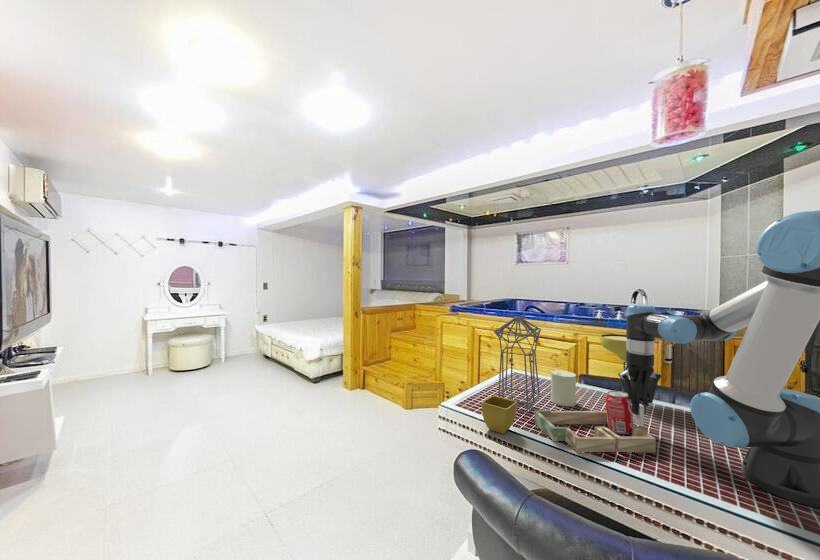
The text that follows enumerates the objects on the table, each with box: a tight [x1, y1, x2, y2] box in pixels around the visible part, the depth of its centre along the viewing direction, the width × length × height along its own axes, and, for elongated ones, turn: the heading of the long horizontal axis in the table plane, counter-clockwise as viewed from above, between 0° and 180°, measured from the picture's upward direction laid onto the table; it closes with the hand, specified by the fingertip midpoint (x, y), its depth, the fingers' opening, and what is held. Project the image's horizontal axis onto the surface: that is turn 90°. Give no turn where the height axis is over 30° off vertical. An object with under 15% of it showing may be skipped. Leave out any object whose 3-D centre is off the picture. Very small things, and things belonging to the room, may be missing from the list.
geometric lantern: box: [493, 316, 542, 414], centre depth 121 cm, size 16×16×35 cm
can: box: [550, 369, 577, 407], centre depth 127 cm, size 9×9×12 cm
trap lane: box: [533, 409, 657, 454], centre depth 99 cm, size 19×29×4 cm, turn 93°
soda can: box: [605, 390, 634, 435], centre depth 102 cm, size 7×7×12 cm
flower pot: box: [481, 395, 518, 434], centre depth 102 cm, size 9×9×9 cm
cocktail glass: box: [599, 333, 628, 392], centre depth 134 cm, size 18×18×25 cm
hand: (638, 423), depth 103 cm, fingers closed
